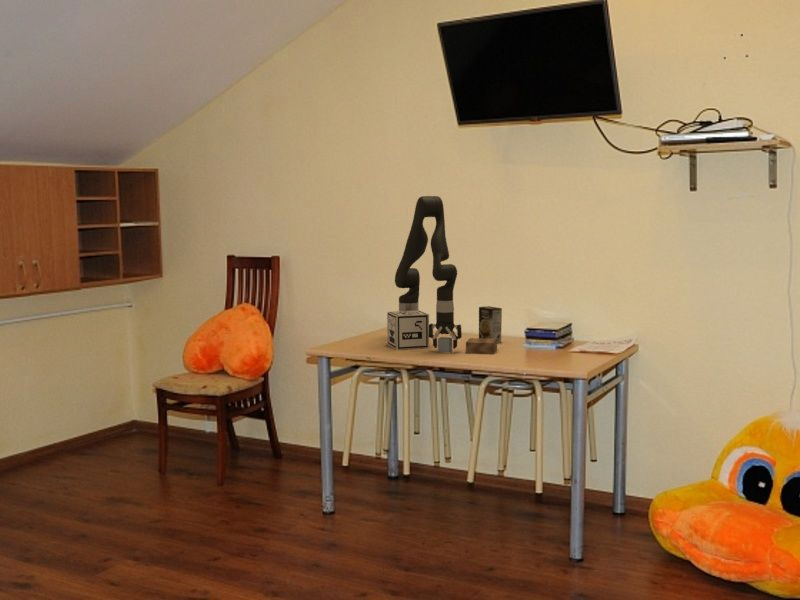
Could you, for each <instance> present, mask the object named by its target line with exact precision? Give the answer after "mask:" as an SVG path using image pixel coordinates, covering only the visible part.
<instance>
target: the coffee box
mask: <svg viewBox="0 0 800 600" xmlns="http://www.w3.org/2000/svg"><path fill="white" fill-rule="evenodd" d="M502 309H503V308H501V307H495V306H490V305H489V306H487V305H486V306H479V307H478V338H482V339H497V344H501V343H502V319H503V318H502V316H503V315H502V314H503V313H502V311H503V310H502Z"/></svg>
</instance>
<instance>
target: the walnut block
mask: <svg viewBox="0 0 800 600" xmlns="http://www.w3.org/2000/svg"><path fill="white" fill-rule="evenodd" d="M497 351H498V343H497V339H482V338H479V337H476V338H475V337H469V338H468V340H466V342H465V354H477V355H478V354H482V355H484V354H485V355H494V354H496V352H497Z"/></svg>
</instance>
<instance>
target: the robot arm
mask: <svg viewBox="0 0 800 600" xmlns="http://www.w3.org/2000/svg"><path fill="white" fill-rule="evenodd" d="M444 208H445V207H444V202H443V200H442V198H441V196H437V195H423V196H420V197H418V198H417V201H416V204H415V209H414V214H413V218H412V219H413V220H412V223H411V226H410V230H409V233H408V237H407V240H406V243H405V246H404V251H403V254H402V257H401V260H400V262H399V264H398V266H397V269H396V271H395V276H394V284H395V286H396V287H397V288H399V289H408V290H407V291H406V292H405V293H404V294H402V295H400V296H399V297H398V311H418V310H419V311H420V309H419V297H420V279H421V277H420V271H419V270H418V269H417V268H415V267H412V266H413V265H414V264H415V263H416V262H417V261H418V260H420V258H421V257H422V256H423V255H424V254H425V252H426V250H427V246H428V243H429V237H428V233H427V231H426V230H425V227H424V220H425V218H435V228H434V231H433V232H432V234H431V235H432V236H431V238H430V248H431V249H430V250H431V252H432V274H431V275H432V277H433V279H434V280H435V281H437V282H445V283H444V285H441V286H438V287H437V288H436V305H435V306H436V307H435V309H436V310H435V311H436V312H435V313H436V315H435V316H436V318H435V321H436V323H429V339H430V338H431V339H432V346H433V348H437V349H438V337H439V335H449V336H451V337H452V350H453V349H454V350H455V349H456V348H457V347H458V340H460V339H462V324H460V323H459V324H455V322H454V321H455V319H454V318H455V316H454V315H455V312H454V311H455V306H454V288H455V285H456V284H455V283H456V280H457V276H458V270H457V267H456V265H454V264H452V263H449V264H442V262H444V261H447V260H448V259H449V258H450V253H449V252H450V251H449V248H448V242H447V237H446V224H445V223H446V222H445V211H444ZM435 328H436V330H437V331H436V332H435V333H434V329H435ZM454 330H456V332H454ZM456 333H457V334H456Z"/></svg>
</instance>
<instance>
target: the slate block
mask: <svg viewBox="0 0 800 600" xmlns="http://www.w3.org/2000/svg"><path fill="white" fill-rule="evenodd" d="M441 352H448V353H447V354H450V353H452V352H453V338H452V336H451V337H448V336H440V337H439V338H438V337H437V353H441ZM449 352H450V353H449Z"/></svg>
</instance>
